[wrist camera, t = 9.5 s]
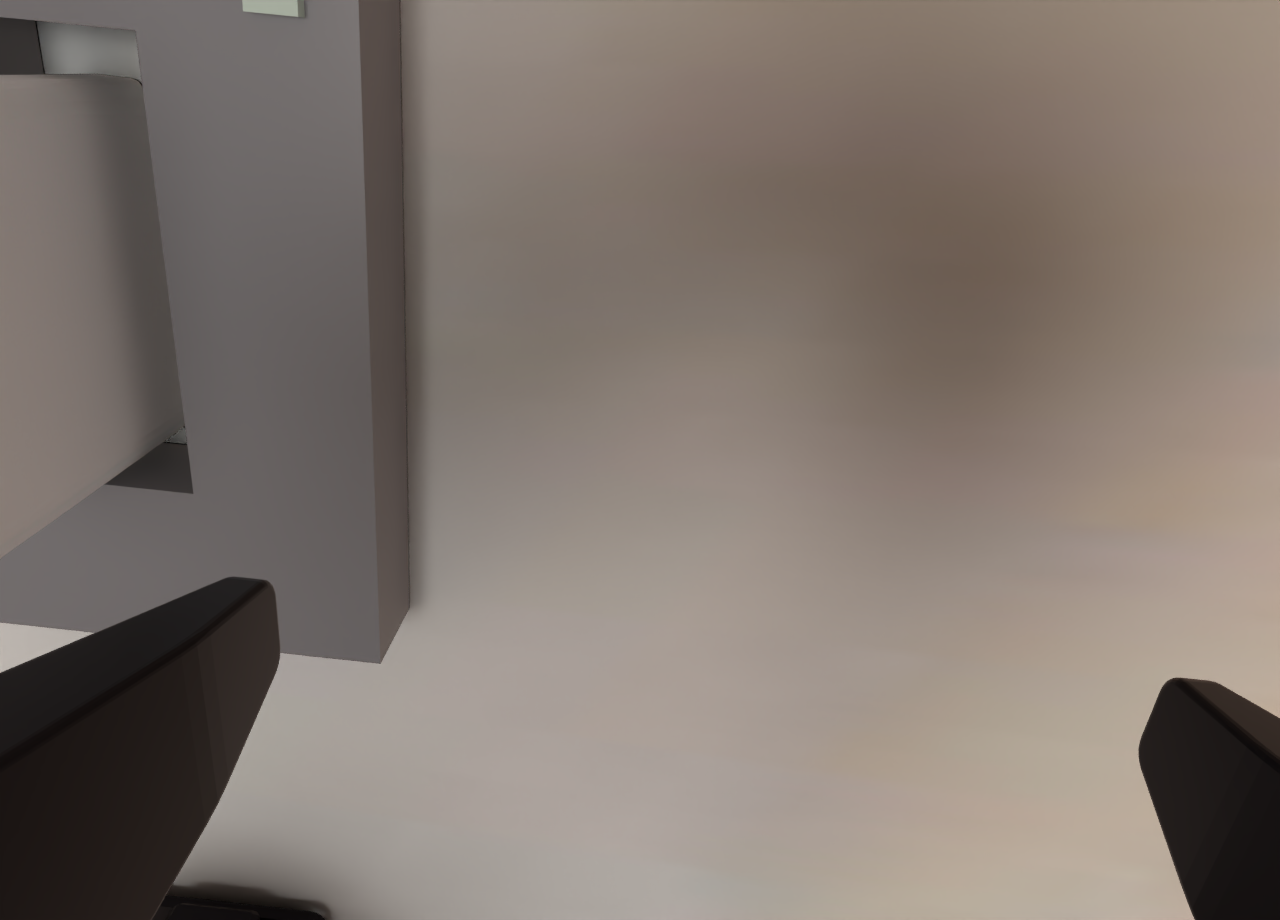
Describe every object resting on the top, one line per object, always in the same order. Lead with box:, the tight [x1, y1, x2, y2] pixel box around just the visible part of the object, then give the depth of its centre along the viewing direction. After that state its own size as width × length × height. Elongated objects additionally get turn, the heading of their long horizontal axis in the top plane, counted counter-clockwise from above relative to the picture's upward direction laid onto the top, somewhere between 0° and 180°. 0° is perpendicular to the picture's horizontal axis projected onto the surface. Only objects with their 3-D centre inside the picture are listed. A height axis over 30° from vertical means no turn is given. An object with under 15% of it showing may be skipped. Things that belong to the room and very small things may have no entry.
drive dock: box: [0, 0, 410, 664], centre depth 19 cm, size 18×12×3 cm, turn 175°
